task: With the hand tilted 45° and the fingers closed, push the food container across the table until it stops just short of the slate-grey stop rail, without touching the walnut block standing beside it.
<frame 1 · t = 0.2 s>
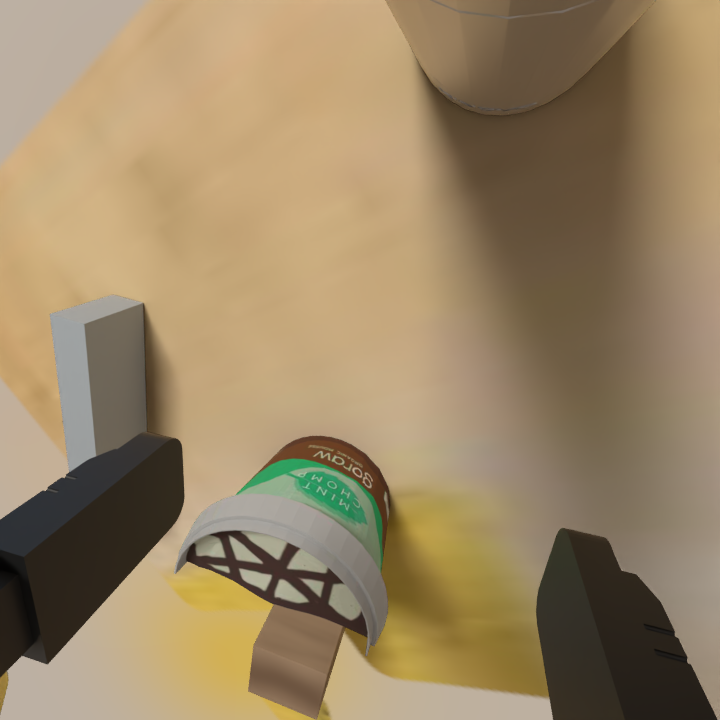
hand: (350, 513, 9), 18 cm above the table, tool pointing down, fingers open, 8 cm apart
food container: (336, 460, 31), on the table
stop rail: (132, 398, 34), on the table
walnut block: (325, 583, 36), on the table
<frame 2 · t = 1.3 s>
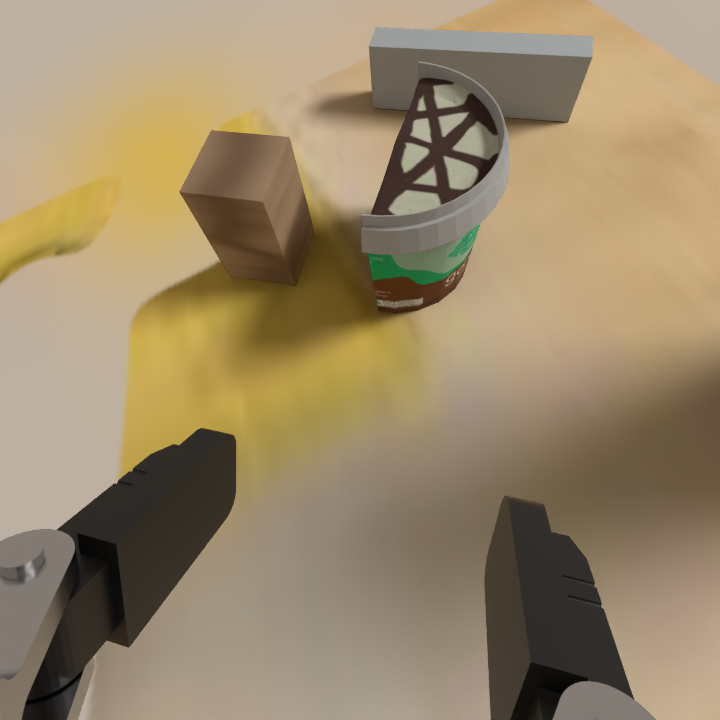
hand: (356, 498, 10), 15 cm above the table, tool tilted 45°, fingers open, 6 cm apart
food container: (438, 265, 31), on the table
stop rail: (468, 104, 37), on the table
walnut block: (272, 253, 33), on the table
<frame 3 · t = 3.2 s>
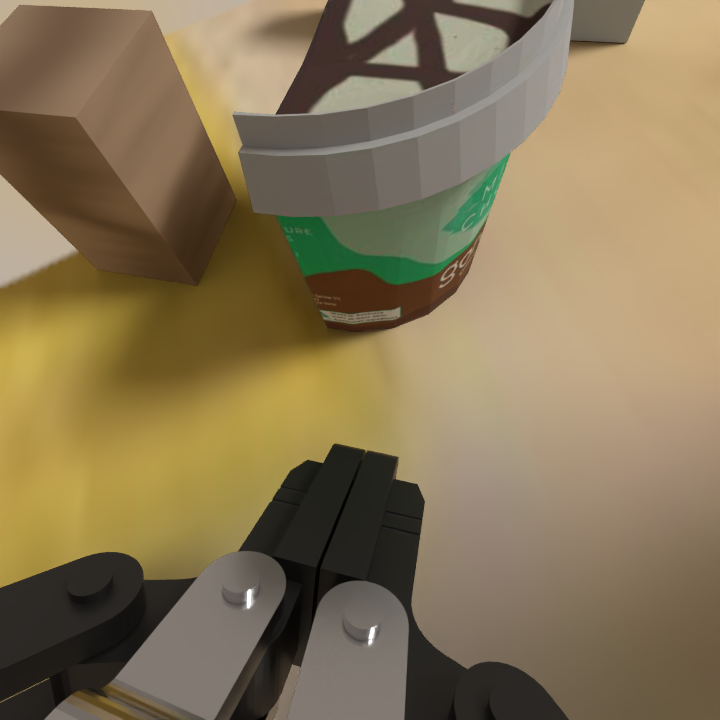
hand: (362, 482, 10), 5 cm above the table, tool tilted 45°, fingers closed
food container: (428, 253, 19), on the table
stop rail: (477, 23, 25), on the table
walnut block: (169, 233, 21), on the table
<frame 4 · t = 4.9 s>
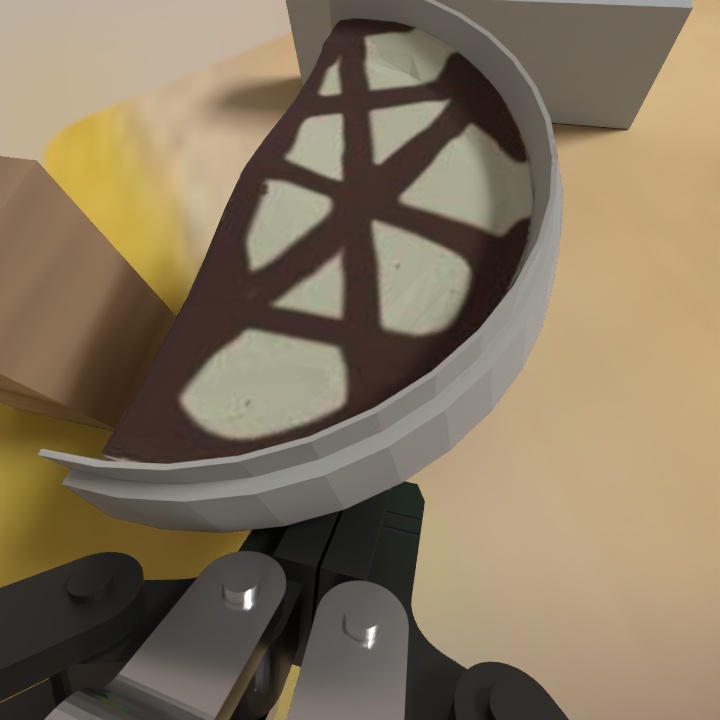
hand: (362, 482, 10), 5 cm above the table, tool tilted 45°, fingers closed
food container: (396, 397, 16), on the table, touching gripper
stop rail: (461, 98, 23), on the table
walnut block: (99, 362, 18), on the table
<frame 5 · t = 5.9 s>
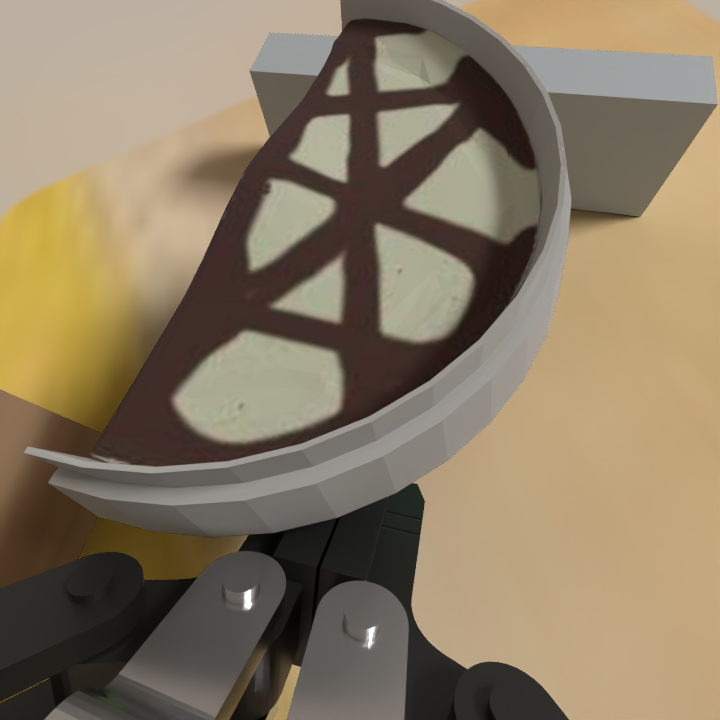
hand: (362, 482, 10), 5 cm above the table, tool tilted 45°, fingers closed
food container: (396, 402, 16), on the table, touching gripper
stop rail: (452, 175, 20), on the table
walnut block: (37, 497, 16), on the table
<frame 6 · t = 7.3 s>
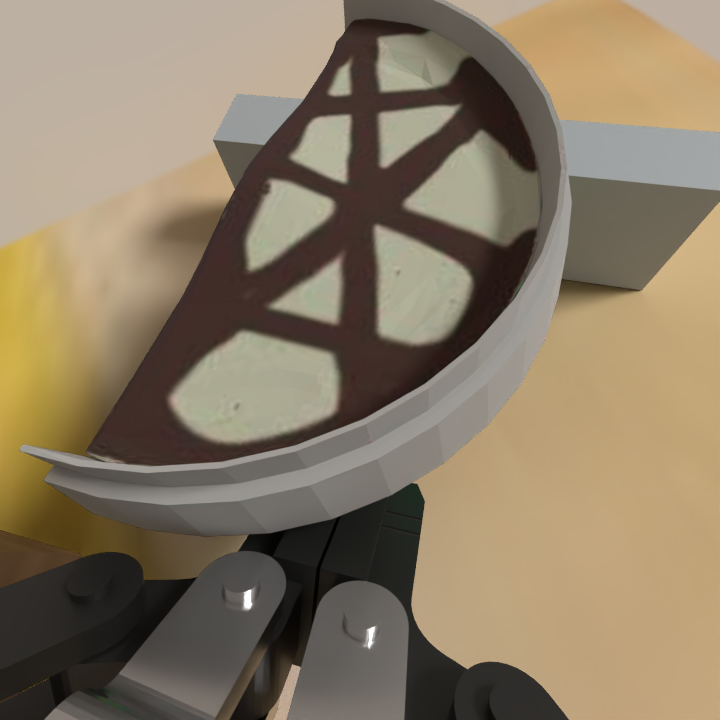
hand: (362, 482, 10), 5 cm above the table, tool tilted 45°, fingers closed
food container: (396, 403, 16), on the table, touching gripper
stop rail: (439, 238, 19), on the table
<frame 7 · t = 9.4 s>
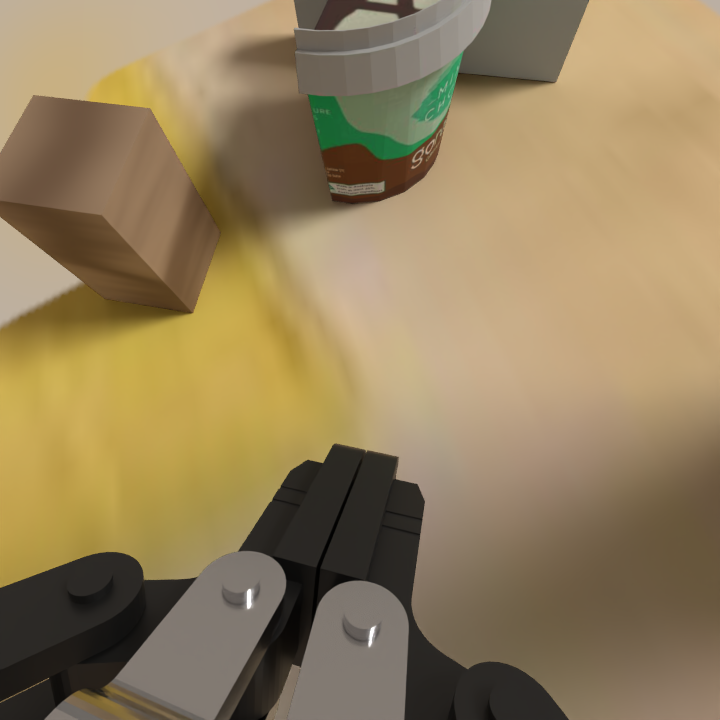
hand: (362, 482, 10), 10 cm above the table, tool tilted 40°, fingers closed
food container: (405, 150, 26), on the table
stop rail: (428, 56, 28), on the table
walnut block: (164, 265, 24), on the table
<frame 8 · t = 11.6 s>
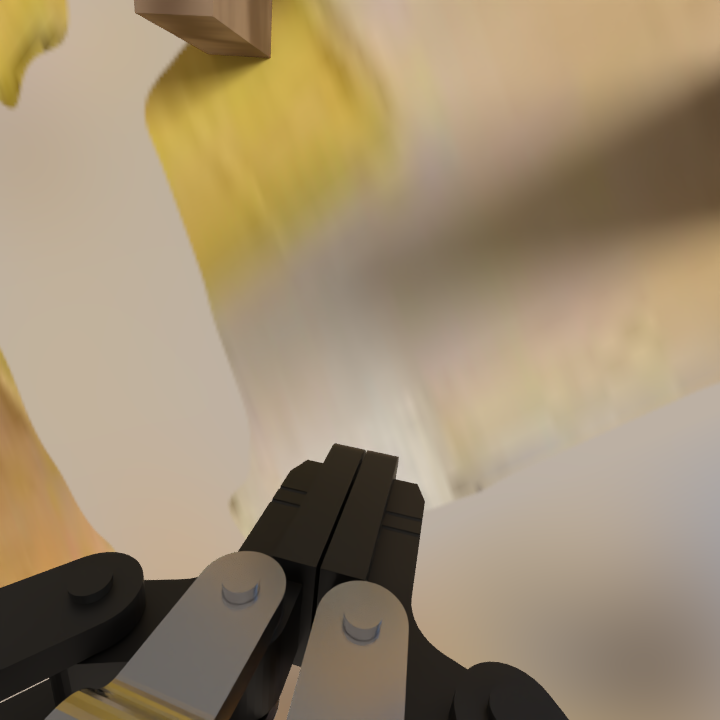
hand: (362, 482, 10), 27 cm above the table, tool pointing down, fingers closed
walnut block: (239, 15, 32), on the table
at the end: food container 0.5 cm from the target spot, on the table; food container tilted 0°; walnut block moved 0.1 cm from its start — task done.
